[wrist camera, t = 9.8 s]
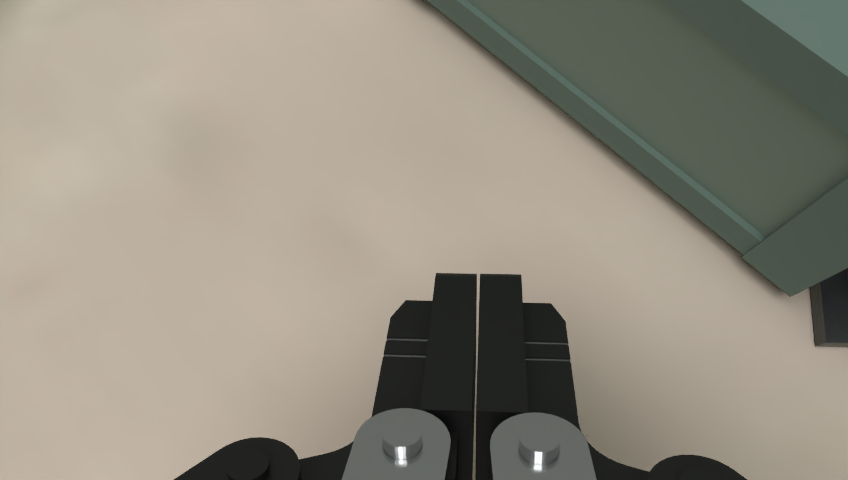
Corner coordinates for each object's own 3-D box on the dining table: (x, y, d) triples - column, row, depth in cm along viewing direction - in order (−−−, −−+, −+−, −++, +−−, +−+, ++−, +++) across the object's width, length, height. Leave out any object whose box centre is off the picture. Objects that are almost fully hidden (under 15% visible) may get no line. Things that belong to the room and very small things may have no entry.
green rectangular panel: (827, 253, 24) (1057, 121, 14) (790, 297, 24) (999, 191, 14) (421, -64, 28) (389, -335, 18) (385, -30, 28) (334, -287, 18)
